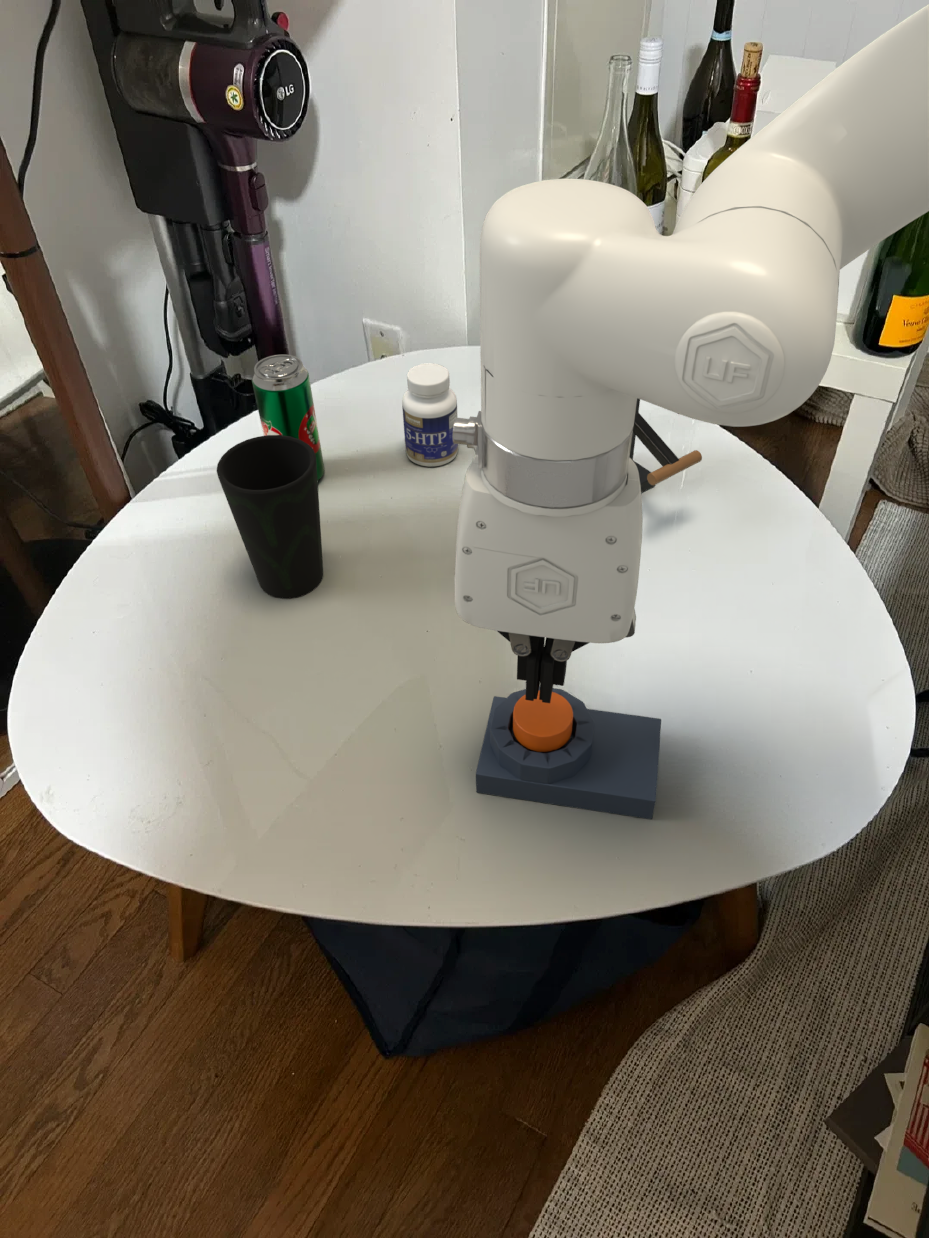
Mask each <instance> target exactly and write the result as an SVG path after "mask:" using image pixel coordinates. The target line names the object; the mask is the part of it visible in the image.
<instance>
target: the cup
mask: <svg viewBox="0 0 929 1238" xmlns="http://www.w3.org/2000/svg"><path fill="white" fill-rule="evenodd" d="M216 474H217V478H218V481H219V483H220V486H221V489H222V491H223V493H224V496H225V498H226V501H227V504H228V507H229V509H230V511H231V514H232V518H233V519H234V521H235V524H236V525H235V526H236V527H237V529H238V530H237V531H238V533H239V535H240V538H241V540H242V543H243V545H244V548H245V550H246V553H247V556H248V558H249V561H250V564H251V566H252V569H253V572H254V574H255V576H256V579H257V581H258V584H259V587H260V588H261V590H262V591H263V592H264V593H265V594H267V595H268V596H270V597H273V598H277V599H284V600H285V599H289V600H290V599H296V598H301V597H303V596H306V595H308V594H310V593H312V592H313V591H314V590H315V589H316V588H318V587H319V585H320V584H321V583H322V580H323V578H324V563H323V546H322V531H321V513H320V497H319V480H318V479H317V463H316V455H315V452H314V450H313V449H312V448H311V447H310V446H309V445H308V444H307V443H305V442H303V441H302V440H300V439H297V438H294V437H291V436H284V435H266V436H264V435H260V436H255V437H252V438H249V439H246V440H243V441H241V442H238V443H236V444H235V445H233V446H232V447H231V448H229V449H228V450H226V451H225V452H224V454H222V455H221V457H220V458H219V461H218V462H217V465H216Z"/></svg>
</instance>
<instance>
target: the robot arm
mask: <svg viewBox="0 0 929 1238" xmlns="http://www.w3.org/2000/svg"><path fill="white" fill-rule="evenodd" d="M928 212H929V3H928V4H926V5H925V6H923V7H922V8H920V9H918V10H917V11H915V12H914V13H912V14H911V15H909V16H908V17H906V18H905V19H903V20H902V21H900V22H899V23H897V24H896V25H894V26H893V27H891V28H890V29H888V30H887V31H885V32H883V33H882V34H881V35H879V36H878V37H876V38H875V39H874V40H872V41H871V42H870V43H868V44H866V45H865V46H864V47H862V48H861V49H860V50H859V51H857V52H856V53H854V54H853V55H852V56H850V57H849V58H848V59H846V60H845V61H843V63H841V64H840V65H839V66H837V67H836V68H834V69H833V70H832V71H831V72H829V73H828V74H827V75H826V76H825V77H824V78H822V79H821V80H820V81H819V82H817V83H816V84H815V85H814V86H812V87H811V88H809V90H808V91H806V92H805V93H804V94H803V95H802V96H800V97H798V99H796V100H795V101H794V102H792V104H790V105H789V106H788V107H786V109H784V110H783V111H781V112H780V113H779V114H778V115H777V116H776V117H774V118H773V119H772V120H771V121H769V122H768V123H767V124H766V125H765V126H764V127H762V128H761V129H760V130H759V131H757V132H756V133H755V134H754V135H753V136H752V137H750V138H749V139H747V141H746V142H744V143H743V144H742V145H741V146H739V147H738V148H737V149H736V150H735V151H733V152H732V153H731V154H730V155H729V156H728V157H727V158H725V160H723V161H722V162H721V163H720V164H719V165H718V166H717V167H716V168H715V169H714V170H712V172H710V174H709V175H708V176H707V177H706V178H705V179H704V180H703V182H702V183H701V184H700V185H699V186H698V187H697V189H696V190H695V191H694V192H693V194H692V196H691V197H690V198H689V200H688V201H687V202H686V204H685V206H684V208H683V210H682V212H681V213H680V216H679V218H678V221H677V222H676V224H675V227H674V229H673V232H672V234H671V235H663V234H661V233H660V232H659V231H658V230H657V226H656V222H655V220H654V217H653V215H652V213H651V211H650V209H649V208H648V206H647V204H646V203H644V202H643V200H641V199H640V198H639V197H638V196H637V195H635V194H634V193H633V192H631V191H630V190H628V189H625V188H623V187H621V186H618V185H614V184H612V183H607V182H604V181H598V180H592V179H584V178H551V179H543V180H538V181H534V182H533V181H532V182H529V183H526V184H522V185H520V186H517V187H515V188H512V189H511V190H508V191H506V193H504V194H503V195H502V196H501V197H500V196H499V198H498V199H497V200H495V201H494V203H493V204H492V205H491V207H490V208H489V209H488V211H487V213H486V215H485V217H484V219H483V222H482V226H481V229H480V234H479V235H480V237H479V338H480V340H479V341H480V343H479V344H480V348H479V349H480V350H479V353H480V355H479V356H480V409H481V410H478V412H477V416H470V417H469V418H465V417H464V418H463V417H457V418H456V419H455V421H454V426H453V443H454V444H458V445H463V446H466V447H467V449H473V452H474V455H473V458H472V460H471V461H470V464H469V465H468V467H467V470H466V471H465V472H466V473H465V475H464V476H465V477H464V480H463V484H462V489H461V495H460V501H459V508H458V516H457V528H456V539H455V541H456V542H455V559H454V560H455V561H454V562H455V563H454V594H453V595H454V607H455V612H456V615H457V616H458V617H459V618H460V619H461V620H462V621H463V622H465V623H467V624H469V625H470V626H473V627H475V628H480V629H484V630H490V631H495V632H497V633H498V634H499V635H501V636H502V637H503V638H505V640H507V641H508V642H509V643H510V649H511V651H512V653H513V654H514V655H516V656H517V663H516V680H518V681H525V689H526V697H525V700H530V701H534V699H537V696H538V691H539V686H540V694H539V700H542V702H544V703H550V701H551V696H552V690H553V688H554V686H561V687H563V686H564V685H565V679H566V673H567V667H568V666H567V664H568V661H569V660H570V658H571V656H572V653H573V652H575V651H576V650H579V649H581V648H582V647H585V646H586V645H588V644H612V643H616V642H619V641H622V640H624V639H625V638H632V637H633V636H635V632H636V622H637V614H636V609H635V606H636V600H637V594H638V587H639V579H640V577H639V576H640V566H641V557H642V556H641V555H642V542H643V501H642V493H641V486H640V479H639V472H638V469H637V466H636V465H635V463H634V462H633V460H634V459H633V460H632V459H631V458H629V456H630V448H631V440H632V433H633V426H634V419H635V411H636V403H637V398H638V399H640V401H643V402H646V403H649V404H651V405H654V406H657V407H659V408H662V409H664V410H667V411H669V412H672V413H675V414H678V415H681V416H683V417H686V418H689V419H693V420H696V421H700V422H704V423H707V424H712V425H718V426H725V427H734V428H735V427H737V428H739V427H753V426H760V425H765V424H768V423H771V422H774V421H777V420H779V419H781V418H784V417H785V416H788V415H789V414H791V413H792V412H793V411H795V410H797V409H798V408H800V407H801V406H802V405H803V404H804V403H805V402H807V400H808V399H809V398H810V397H811V396H812V395H813V394H814V392H815V391H816V390H817V389H818V387H819V386H820V384H821V382H822V380H823V378H824V377H825V375H826V373H827V371H828V369H829V366H830V363H831V359H832V355H833V351H834V347H835V341H836V333H837V332H836V331H837V319H838V304H839V291H840V290H839V287H840V273H841V270H842V269H843V268H844V267H846V266H847V265H849V264H850V263H852V262H853V261H854V260H856V259H858V258H859V257H860V256H862V255H863V254H865V253H867V252H868V251H869V250H870V249H872V248H873V247H875V246H877V245H878V244H880V243H881V242H882V241H884V240H885V239H887V238H888V237H890V236H892V235H893V234H895V233H896V232H898V231H899V230H901V229H902V228H904V227H906V226H907V225H908V224H910V223H912V222H913V221H915V220H917V219H918V218H920V217H922V216H923V215H925V214H926V213H928Z"/></svg>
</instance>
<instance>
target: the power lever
mask: <svg viewBox="0 0 929 1238" xmlns="http://www.w3.org/2000/svg"><path fill="white" fill-rule="evenodd" d="M633 433H634V434H635V435H636V437H637V438H638V440H639V441H640V442H641V443H642V444H643V445H644V447H645V448H646V449H647V450H648V451H649V453H650V454H651V455H652V456H653V457H654V458H655V460H656V461H657V462H658V463H659V464H660V466H661V467H659V468H657V469H655V470H654V471H650V472H651V473H649V474H648V476H647V480H648V482H649V483H650V484H651V485H655V486H656V485H658V484H660V483H662V482H664V481H665V480H668V479H669V478H671V477H674V476H675V475H677V474H679V473H681V472H683V471H685V470H687V469H689V468H691V467H693V466H695V465H697V464H698V463H700V462H702V460H703V455H702V452H700V451H699V450H697V449H695V450H693V451H691V452H689V453H687V454H684V455H682V456H681V457H678V456H677V454H675V453H674V451H673V450H672V449H671V448H670V447H669V446H668V444H667V443H666V442H665V441H664V440H663V439H662V438H661V437H660V435H659V434H658V433H657V432H656V431H655V430H654V428H653V427H652V426H651V424H649V423H648V422H647V421H646V419H645V418H644V417H643V416H642V414H640V412H638V411H637V410H636V411H635V419H634V426H633Z"/></svg>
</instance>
